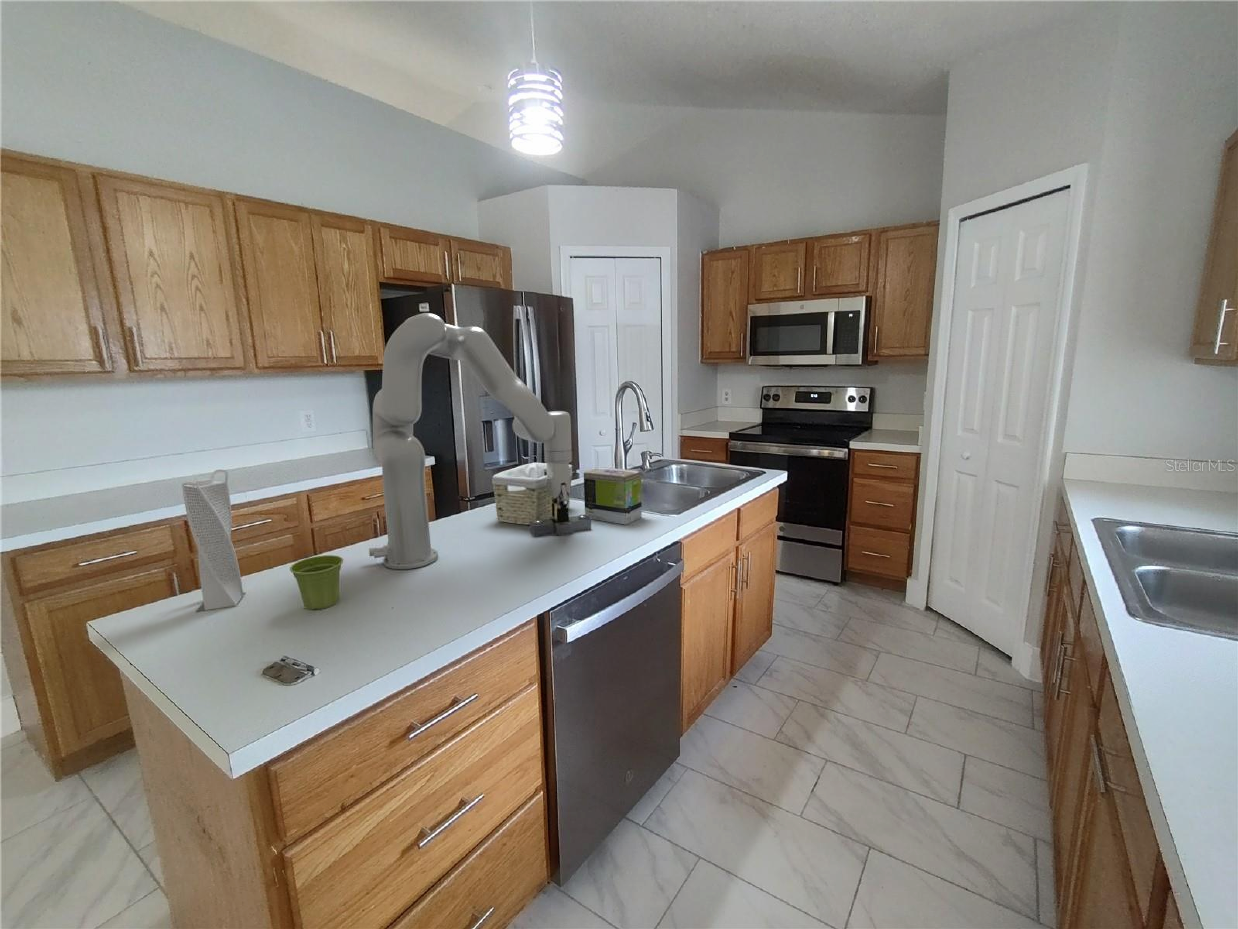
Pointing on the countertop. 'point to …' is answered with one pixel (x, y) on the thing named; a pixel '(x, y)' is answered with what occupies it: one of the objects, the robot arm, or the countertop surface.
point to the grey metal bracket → (560, 526)
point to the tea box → (613, 495)
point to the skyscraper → (213, 542)
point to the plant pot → (318, 580)
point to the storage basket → (523, 494)
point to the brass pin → (556, 512)
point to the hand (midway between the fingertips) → (560, 518)
